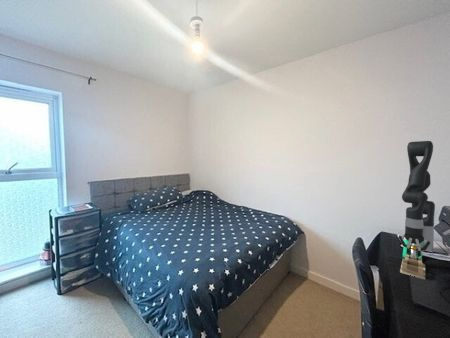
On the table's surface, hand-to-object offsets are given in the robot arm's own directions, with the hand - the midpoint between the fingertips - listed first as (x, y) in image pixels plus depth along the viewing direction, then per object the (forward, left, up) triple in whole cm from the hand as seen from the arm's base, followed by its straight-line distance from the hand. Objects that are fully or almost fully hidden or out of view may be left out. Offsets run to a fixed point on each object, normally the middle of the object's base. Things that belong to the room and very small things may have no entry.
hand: (413, 255), depth 115 cm
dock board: (+6, 0, -6) cm, 8 cm away
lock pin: (0, 0, -5) cm, 5 cm away
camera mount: (-12, -1, -6) cm, 14 cm away
